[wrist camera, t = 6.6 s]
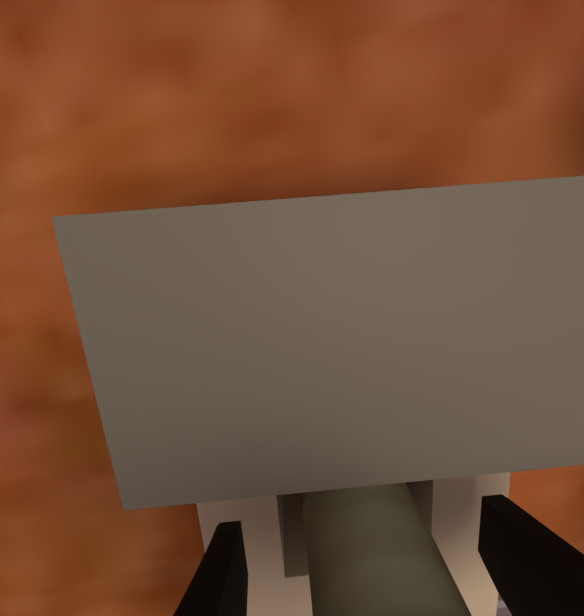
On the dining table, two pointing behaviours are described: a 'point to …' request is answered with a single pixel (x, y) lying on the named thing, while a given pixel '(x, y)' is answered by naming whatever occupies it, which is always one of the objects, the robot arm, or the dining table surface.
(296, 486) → the socket board
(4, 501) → the dining table surface
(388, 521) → the dowel
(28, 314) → the dining table surface
